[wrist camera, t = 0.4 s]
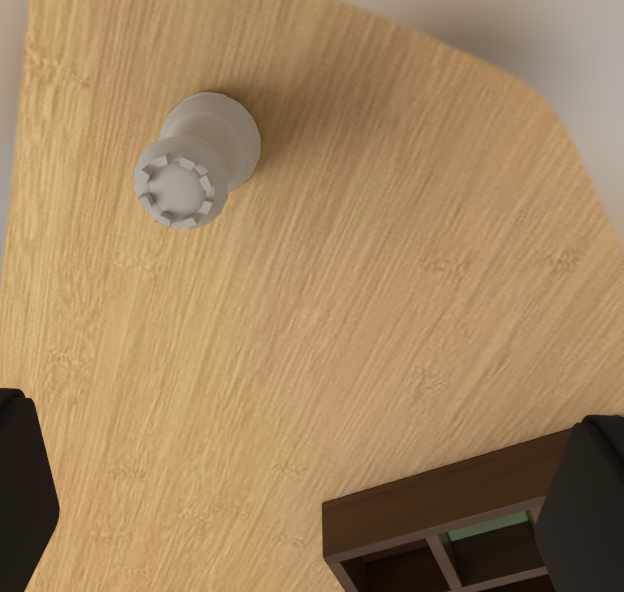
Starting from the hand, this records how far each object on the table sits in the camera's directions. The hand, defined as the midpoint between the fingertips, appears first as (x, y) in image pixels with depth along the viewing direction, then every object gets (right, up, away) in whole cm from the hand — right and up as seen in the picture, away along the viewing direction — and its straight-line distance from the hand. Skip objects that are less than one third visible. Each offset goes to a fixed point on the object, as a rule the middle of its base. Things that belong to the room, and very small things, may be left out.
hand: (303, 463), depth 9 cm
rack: (+13, -13, +28) cm, 33 cm away
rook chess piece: (-4, +10, +15) cm, 19 cm away
